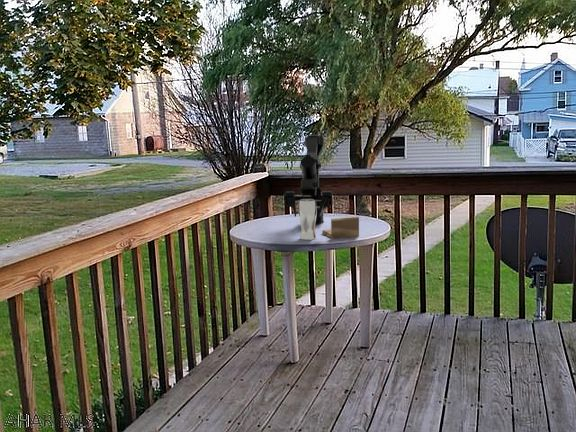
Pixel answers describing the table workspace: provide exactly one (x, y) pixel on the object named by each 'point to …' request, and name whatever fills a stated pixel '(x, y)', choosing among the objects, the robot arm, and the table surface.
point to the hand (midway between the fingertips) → (307, 216)
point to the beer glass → (307, 218)
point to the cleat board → (343, 228)
